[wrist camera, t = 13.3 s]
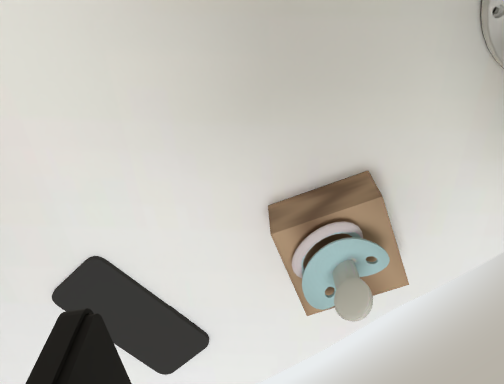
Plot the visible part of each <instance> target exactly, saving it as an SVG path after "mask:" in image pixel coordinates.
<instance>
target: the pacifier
mask: <svg viewBox="0 0 504 384" xmlns="http://www.w3.org/2000/svg"><path fill="white" fill-rule="evenodd" d="M341 233H343V234H348V235H350V236H352V237H351V238H343V239H339V240H336V241H333V242H331V243H329V244H327V245H325V246H324V247H322V248H321V249H320V250H318V251H317V252H316V253H315V254H314V255H313V257H312V258H311V259H310V261H309V262H308V264H307V266H306V268H305V267H304V265H303V261H304V258H305V256H306V254H307V253H308V252H309V250H310V249H311V248H312V247H313V246H314V245H315V244H316V243H318V242H319V241H321V240H322V239H324V238H326V237H328V236H331V235H334V234H341ZM369 256H373V257H375V258H377V260H376V261H374V262H369V261H367V260H366V258H367V257H369ZM389 261H390V260H389V256H388V254H387V252H386V251H385V249H383V248H382V247H381V246H379V245H378V244H376V243H374V242H372V241H369V240H366V239H363V234H362V231H361V229H360V228H359V227H358V226H357V225H355V224H353V223H350V222H345V221H344V222H334V223H331V224H328V225H325V226H323V227H321V228H319V229H317V230H315V231H314V232H313V233H311V234H310V235H308V236H307V237H306V238H305V239H304V240H303V241H302V242H301V244H300V245H299V246H298V248H297V249H296V251H295V253H294V256H293V258H292V268H293V271H294V273H295V274H296V275H297V276H298V277H300V278H302V289H303V293H304V296H305V298H306V300H307V302H308V303H309V304H310V305H311V306H312V307H314V308H316V309H320V310H325V309H329V308H331V307H333V306H335V309H336V311H337V313H338V314H339V316H340V317H342V318H343V319H345V320H348V321H359V320H362V319H363V318H365V317H366V316H367V315H368V314H369V312H370V310H371V308H372V304H373V296H372V292H371V290H370V288H369V286H368V285H367V284H366V283H365V282H364V281H363V280H362V279H360V277H364V276H369V275H373V274H375V273H378V272H380V271H382V270H383V269H384V268H386V267H387V265H388V264H389ZM328 287H333V288H334V292H333V293H332V294H331V295H326V294H325V290H326V289H327V288H328Z"/></svg>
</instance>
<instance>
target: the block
mask: <svg viewBox="0 0 504 384" xmlns="http://www.w3.org/2000/svg"><path fill="white" fill-rule="evenodd" d="M268 211H269V221H270V232H271V236H272V238H273V241H274V243H275V245H276V247H277V250H278V252H279V254H280V256H281V259H282V261H283V263H284V265H285V268H286V270H287V272H288V274H289V277H290V279H291V281H292V283H293V285H294V288H295V290H296V292H297V294H298V297H299V299H300V301H301V303H302V306H303V308H304V310H305V312H306V315H307V316H309V315H312V314H315V313H318V312H322V311H325V310H328V309H325V310H320V309H316V308H314V307H312V306H311V305H310V304H309V303H308V302H307V300H306V298H305V296H304V293H303V289H302V278H300V277H298V276H297V275H296V274H295V273H294V271H293V268H292V258H293V256H294V253H295V251H296V249H297V248H298V246H299V245H300V244H301V242H302V241H303V240H304V239H305V238H306V237H307V236H308V235H310V234H311V233H313V232H314V231H315V230H317V229H319V228H321V227H323V226H325V225H328V224H331V223H334V222H344V221H345V222H350V223H353V224H355V225H357V226H358V227H359V228H360V229H361V231H362V234H363V239H366V240H369V241H372V242H374V243H376V244H378V245H379V246H381V247H382V248H383V249H385V251H386V252H387V254H388V256H389V260H390V261H389V264H388V265H387V267H386V268H384V269H383V270H382V271H380V272H378V273H375V274H373V275H369V276H364V277H360V279H362V280H363V281H364V282H365V283H366V284H367V285H368V286H369V288H370V290H371V292H372V296H374V295H377V294H380V293H383V292H387V291H390V290H393V289H396V288H400V287H403V286H406V285H409V283H408V279H407V276H406V273H405V269H404V266H403V263H402V259H401V256H400V253H399V250H398V246H397V243H396V240H395V236H394V233H393V230H392V226H391V223H390V220H389V217H388V213H387V210H386V207H385V203H384V200H383V197H382V195H381V193H380V191H379V189H378V188H377V186H376V184H375V182H374V180H373V179H372V177H371V175H370V173H369V171H365V172H363V173H360V174H357V175H354V176H351V177H348V178H345V179H343V180H340V181H337V182H334V183H331V184H328V185H325V186H323V187H320V188H317V189H314V190H311V191H308V192H306V193H303V194H300V195H297V196H294V197H291V198H288V199H286V200H283V201H280V202H277V203H274V204H271V205H269V206H268ZM351 237H352V236H350V235H348V234H343V233H341V234H334V235H331V236H328V237H326V238H324V239H322V240H321V241H319V242H318V243H316V244H315V245H314V246H313V247H312V248H311V249H310V250H309V252H308V253H307V254H306V256H305V258H304V261H303V265H304V267H305V268H306V266H307V264H308V262H309V261H310V259H311V258H312V257H313V255H314V254H315V253H316V252H317V251H318V250H320V249H321V248H322V247H324V246H325V245H327V244H329V243H331V242H333V241H336V240H339V239H343V238H351ZM366 260H367V261H369V262H374V261H376V260H377V258H375V257H373V256H369V257H367V258H366ZM333 292H334V288H333V287H328V288H327V289H326V290H325V294H326V295H331V294H332V293H333ZM331 308H335V306H333V307H331ZM331 308H329V309H331Z"/></svg>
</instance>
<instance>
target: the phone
mask: <svg viewBox="0 0 504 384" xmlns="http://www.w3.org/2000/svg"><path fill="white" fill-rule="evenodd" d="M52 300H53V301H54V303H55V304H56V305H58V306H59V307H60V308H62V309H63V310H65V311H66V312H67V311H73V310H79V309H85V308H89V309H91V310H92V311H93V313H94V314H96V313H98V314H100V315H101V317H102V318H103V321H104V323H105V325H106V327H107V330H108V332H109V334H110V336H111V339H112V341H113V343H114V344H116V345H117V346H119V347H120V348H122V349H123V350H125V351H126V352H128V353H129V354H131V355H132V356H134V357H135V358H137V359H138V360H140V361H141V362H143V363H144V364H146V365H147V366H149V367H150V368H152V369H153V370H155V371H156V372H158V373H160V374H165V375H166V374H171V373H173V372H174V371H176V370H177V369H178V368H180V367H181V366H182V365H184V364H185V363H186V362H188V361H189V360H190V359H192V358H193V357H194V356H196V355H197V354H198V353H200V352H201V351H202V350H203V349H205V348H206V347H207V346H208V343H209V336H208V335H207V333H206V332H204V331H203V330H202V329H200V328H199V327H198V326H196V325H195V324H194V323H192V322H191V321H189V320H188V319H187V318H186V317H184V316H183V315H182V314H180V313H178V311H176V310H175V309H174V308H172V307H171V306H169V305H167V304H166V303H165V302H163V301H162V300H161V299H159V298H158V297H156V296H155V295H154V294H152V293H151V292H150V291H148V290H147V289H146V288H144V287H143V286H141V285H140V284H139V283H137V282H136V281H135V280H133V279H132V278H130V277H129V276H128V275H126V274H125V273H124V272H122V271H121V270H119V269H118V268H117V267H115V266H114V265H113V264H111V263H110V262H108V261H107V260H105V259H104V258H102V257H98V256H93V257H90V258H88V259H87V260H86V261H85V262H84V263H83V264H81V265H80V266H79V267H78V268H77V269H76V270H75V271H74V272H73V273H72V274H71V275H70V276H69V277H68V278H67V279H66V280H65V281H63V282H62V283H61V284H60V285H59V286H58V287H57V288H56V289H55V291H54V292H53V294H52Z"/></svg>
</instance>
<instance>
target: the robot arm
mask: <svg viewBox="0 0 504 384" xmlns="http://www.w3.org/2000/svg"><path fill="white" fill-rule="evenodd" d="M494 8H496V10H495V12H494V13H493V14H492V11H493V9H494ZM481 20H482V29H483V35H484V38H485V41H486V44H487V47H488V49H489V50H490V52H491V54H492V55H493V57H494V59H495V60H496V61H497V62H498V63H499V64H500V65H501V66H502V67H503V68H504V0H482V12H481ZM26 384H131V382H130V379H129V377H128V375H127V373H126V370H125V368H124V366H123V364H122V361H121V359H120V357H119V355H118V352H117V350H116V348H115V346H114V343H113V341H112V339H111V336H110V334H109V332H108V330H107V327H106V325H105V323H104V321H103V318H102V317H101V315H100V314H98V313H96V314H94V313H93V311H92V310H91V309H89V308H85V309H79V310H73V311H67V312H63V313H61V314H60V316H59V317H58V319H57V321H56V323H55V325H54V327H53V329H52V331H51V333H50V335H49V337H48V339H47V341H46V343H45V345H44V347H43V349H42V351H41V353H40V355H39V358H38V360H37V362H36V364H35V366H34V368H33V370H32V372H31V374H30V376H29V378H28V380H27V382H26Z"/></svg>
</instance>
